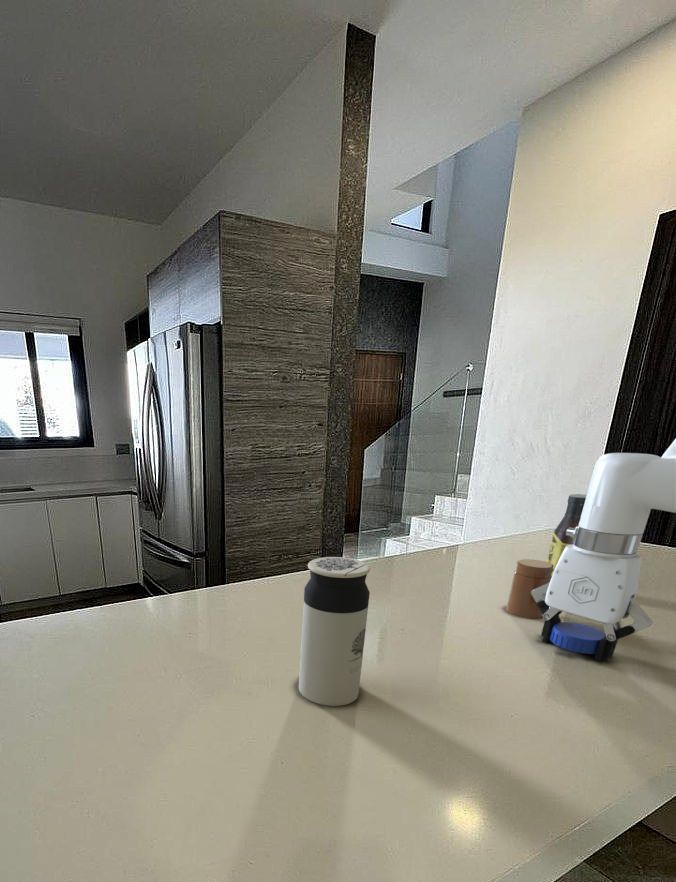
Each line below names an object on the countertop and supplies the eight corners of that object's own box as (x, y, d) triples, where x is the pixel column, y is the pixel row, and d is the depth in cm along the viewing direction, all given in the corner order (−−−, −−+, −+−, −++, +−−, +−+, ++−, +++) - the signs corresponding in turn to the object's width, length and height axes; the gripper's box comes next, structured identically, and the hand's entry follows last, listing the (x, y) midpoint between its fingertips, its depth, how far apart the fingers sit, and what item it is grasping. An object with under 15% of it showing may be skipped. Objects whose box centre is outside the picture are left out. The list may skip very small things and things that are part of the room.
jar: (530, 608, 93) (542, 559, 90) (548, 620, 88) (562, 568, 84) (499, 608, 93) (510, 558, 90) (515, 620, 88) (527, 567, 84)
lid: (614, 651, 73) (619, 638, 72) (575, 655, 72) (579, 642, 71) (575, 633, 79) (578, 620, 79) (539, 636, 78) (542, 623, 77)
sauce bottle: (547, 579, 109) (569, 491, 102) (579, 586, 105) (604, 495, 98) (536, 586, 105) (558, 494, 98) (569, 593, 101) (594, 498, 94)
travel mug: (286, 689, 66) (292, 563, 59) (323, 671, 70) (333, 552, 64) (333, 715, 60) (345, 579, 53) (370, 693, 65) (385, 565, 58)
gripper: (530, 533, 75) (506, 636, 81) (671, 559, 61) (628, 681, 67) (555, 527, 78) (529, 626, 85) (692, 551, 65) (650, 667, 71)
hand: (573, 650), depth 76 cm, fingers closed on lid, 6 cm apart
